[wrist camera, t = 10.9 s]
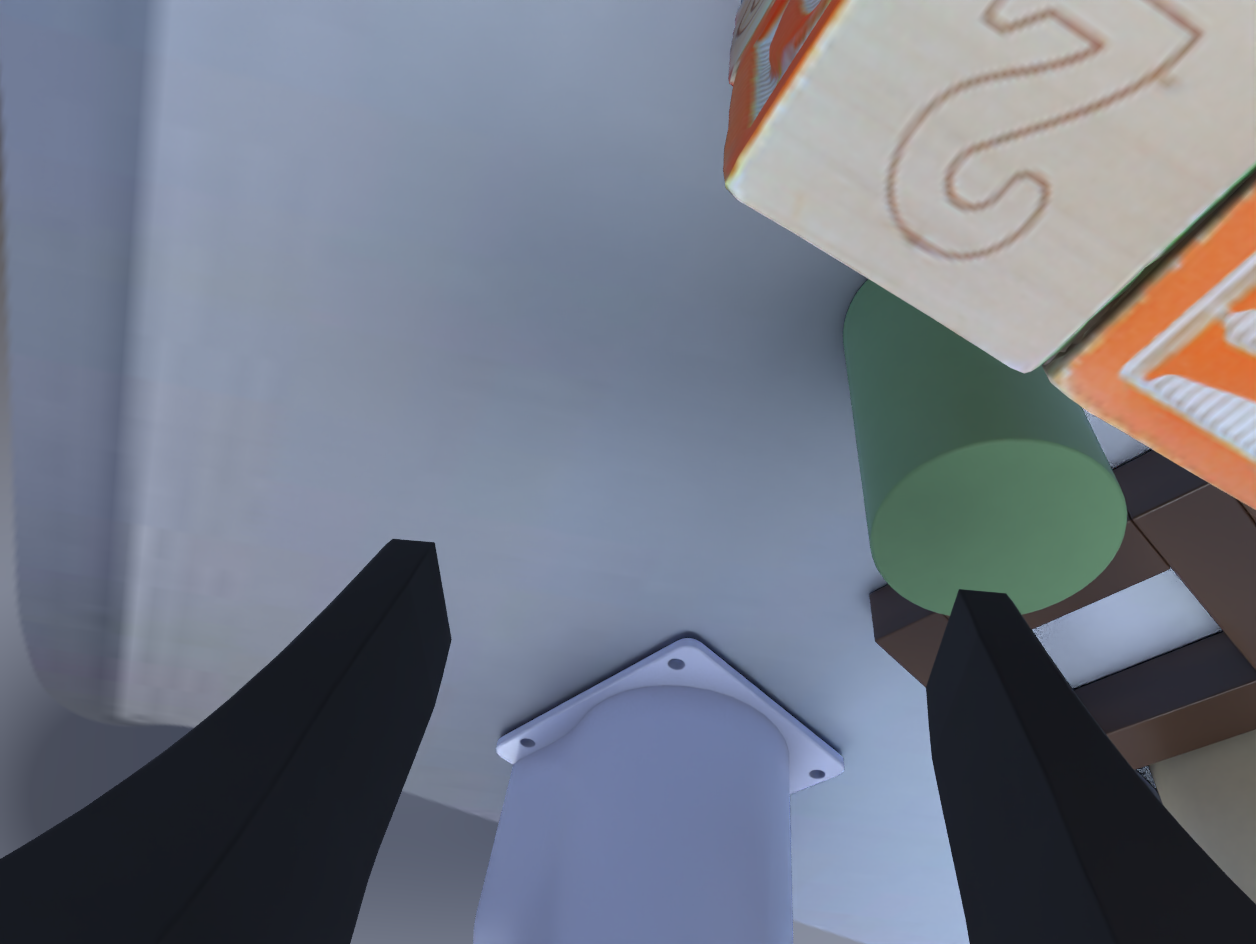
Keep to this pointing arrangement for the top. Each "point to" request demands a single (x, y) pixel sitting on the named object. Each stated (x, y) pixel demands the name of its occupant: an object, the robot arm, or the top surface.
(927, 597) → the green peg
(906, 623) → the rack
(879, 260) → the stack of blocks
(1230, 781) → the cream peg
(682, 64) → the top surface
